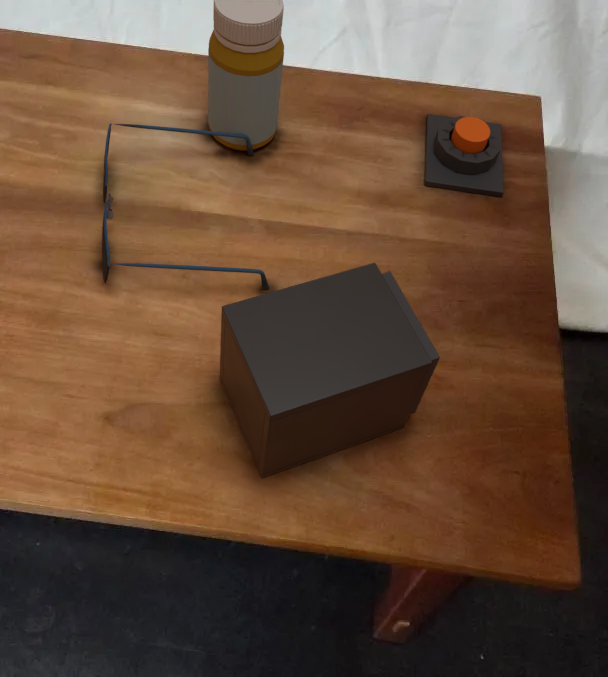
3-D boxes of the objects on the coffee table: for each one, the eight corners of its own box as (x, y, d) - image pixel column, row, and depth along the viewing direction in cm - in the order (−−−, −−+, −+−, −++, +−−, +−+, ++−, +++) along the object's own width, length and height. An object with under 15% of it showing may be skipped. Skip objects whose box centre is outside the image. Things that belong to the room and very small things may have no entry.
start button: (485, 156, 83) (490, 144, 82) (450, 151, 83) (455, 138, 82) (485, 132, 85) (490, 119, 84) (451, 127, 85) (455, 114, 84)
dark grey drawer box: (354, 336, 72) (375, 261, 64) (403, 428, 68) (433, 362, 59) (219, 378, 69) (221, 305, 60) (261, 478, 64) (270, 416, 55)
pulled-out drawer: (383, 328, 72) (403, 266, 65) (427, 408, 68) (454, 352, 61) (248, 370, 68) (253, 310, 61) (286, 457, 65) (297, 404, 57)
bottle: (260, 162, 83) (270, 36, 70) (197, 140, 83) (195, 11, 71) (286, 119, 86) (300, -8, 74) (225, 98, 87) (228, -32, 75)
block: (502, 197, 83) (509, 180, 81) (424, 185, 83) (429, 168, 81) (499, 129, 89) (506, 111, 87) (426, 118, 89) (431, 99, 87)
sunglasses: (103, 154, 81) (105, 115, 77) (250, 166, 85) (259, 130, 81) (100, 297, 72) (102, 261, 68) (265, 303, 76) (276, 270, 72)
